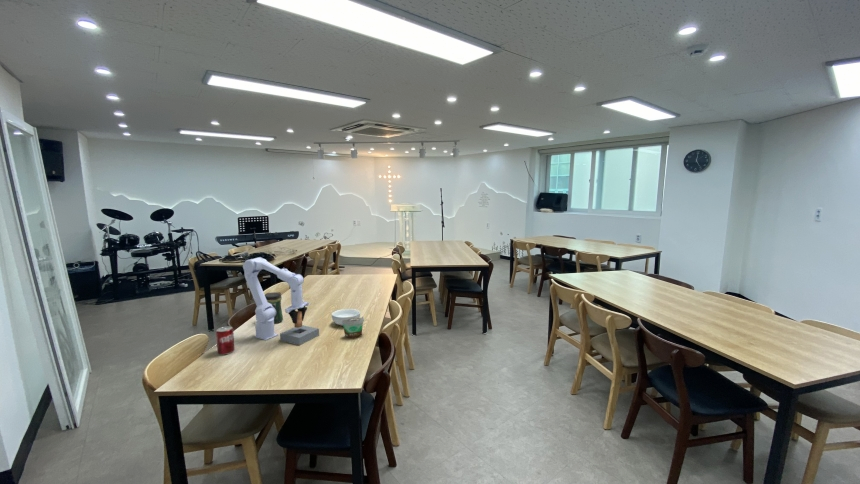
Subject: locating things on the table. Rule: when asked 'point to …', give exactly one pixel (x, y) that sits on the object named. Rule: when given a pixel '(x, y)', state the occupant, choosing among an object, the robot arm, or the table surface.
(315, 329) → the socket
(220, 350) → the soda can
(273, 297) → the coffee jar
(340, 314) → the cereal bowl
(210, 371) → the table surface
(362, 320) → the food container
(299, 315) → the peg
